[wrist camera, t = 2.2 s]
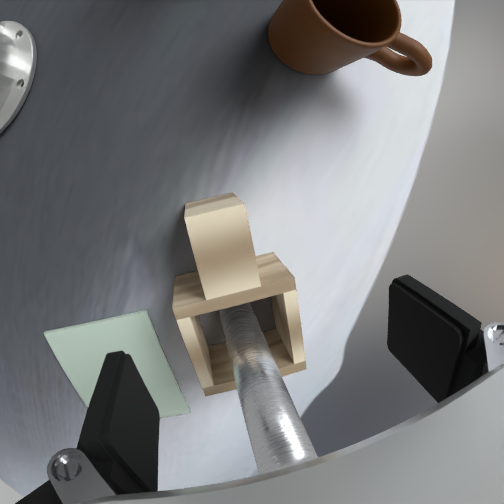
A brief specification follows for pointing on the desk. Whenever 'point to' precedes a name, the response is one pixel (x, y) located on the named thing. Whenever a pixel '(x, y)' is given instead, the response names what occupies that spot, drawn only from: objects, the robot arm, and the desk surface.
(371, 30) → the mug
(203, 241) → the beige wooden open box
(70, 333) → the mat
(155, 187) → the desk surface
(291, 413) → the post
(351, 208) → the desk surface
